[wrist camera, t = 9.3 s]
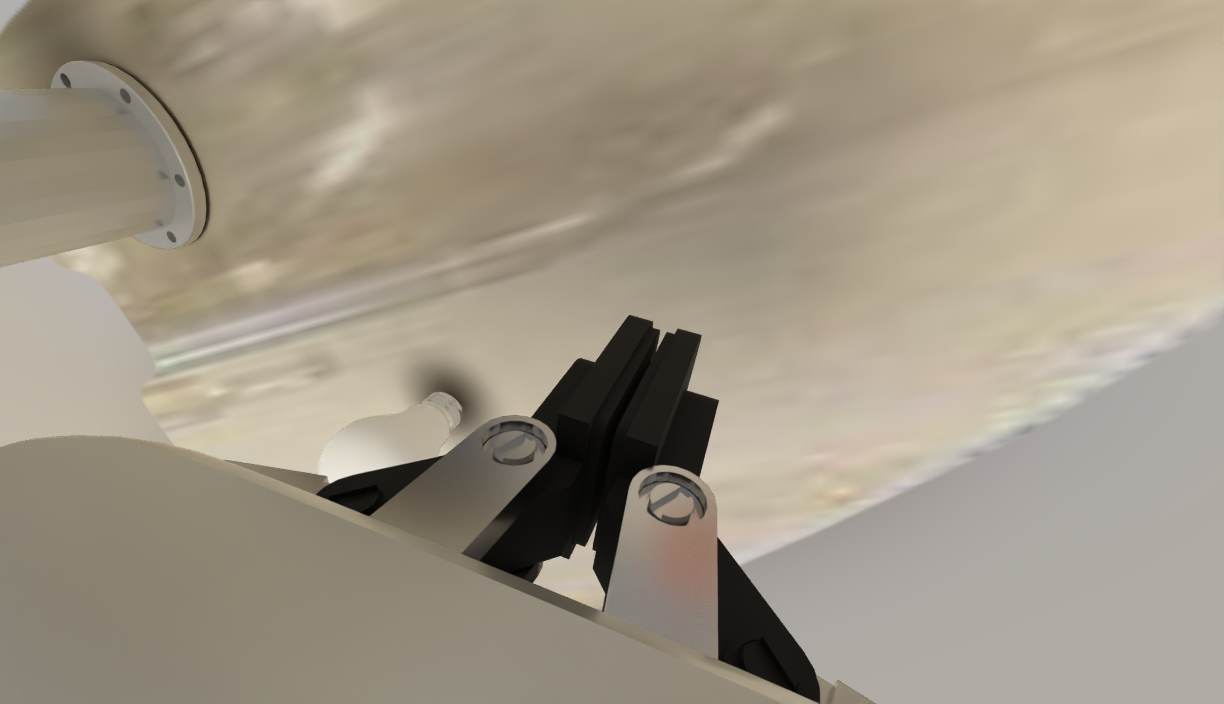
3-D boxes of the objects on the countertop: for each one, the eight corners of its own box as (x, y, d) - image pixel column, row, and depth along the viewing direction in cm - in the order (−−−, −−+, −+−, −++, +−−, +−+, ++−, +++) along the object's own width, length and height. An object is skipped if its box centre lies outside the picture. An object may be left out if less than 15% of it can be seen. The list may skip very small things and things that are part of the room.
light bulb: (489, 375, 35) (375, 482, 26) (493, 448, 38) (394, 565, 29) (409, 353, 37) (276, 446, 28) (420, 425, 40) (304, 529, 31)
